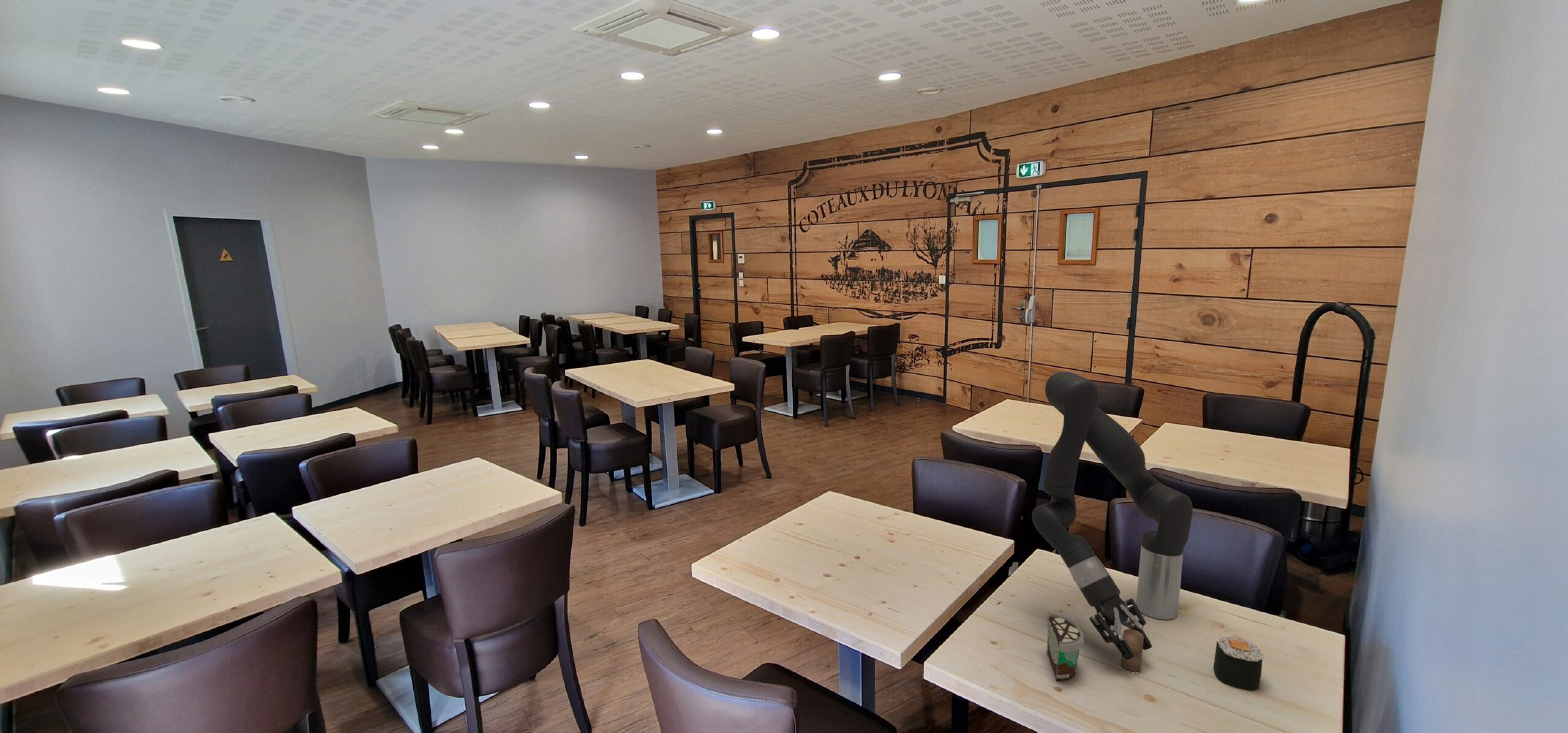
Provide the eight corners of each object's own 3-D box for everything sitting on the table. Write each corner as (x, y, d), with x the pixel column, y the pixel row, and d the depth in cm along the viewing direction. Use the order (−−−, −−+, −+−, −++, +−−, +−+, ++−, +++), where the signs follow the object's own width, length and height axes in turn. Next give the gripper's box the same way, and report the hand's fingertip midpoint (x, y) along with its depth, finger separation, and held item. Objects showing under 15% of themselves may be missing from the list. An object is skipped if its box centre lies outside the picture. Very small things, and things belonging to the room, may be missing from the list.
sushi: (1217, 684, 134) (1221, 650, 133) (1210, 662, 141) (1214, 630, 140) (1264, 695, 131) (1268, 660, 129) (1254, 671, 138) (1258, 638, 137)
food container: (1088, 689, 133) (1091, 646, 131) (1057, 685, 134) (1060, 643, 133) (1073, 654, 145) (1076, 614, 143) (1045, 651, 146) (1048, 611, 144)
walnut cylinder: (1127, 659, 143) (1129, 627, 141) (1144, 669, 139) (1147, 636, 138) (1116, 665, 141) (1119, 632, 139) (1134, 675, 137) (1137, 641, 136)
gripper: (1085, 583, 140) (1133, 659, 132) (1123, 567, 147) (1171, 638, 139) (1063, 594, 145) (1107, 668, 137) (1101, 578, 152) (1145, 648, 144)
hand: (1139, 653), depth 138 cm, fingers open, 6 cm apart
